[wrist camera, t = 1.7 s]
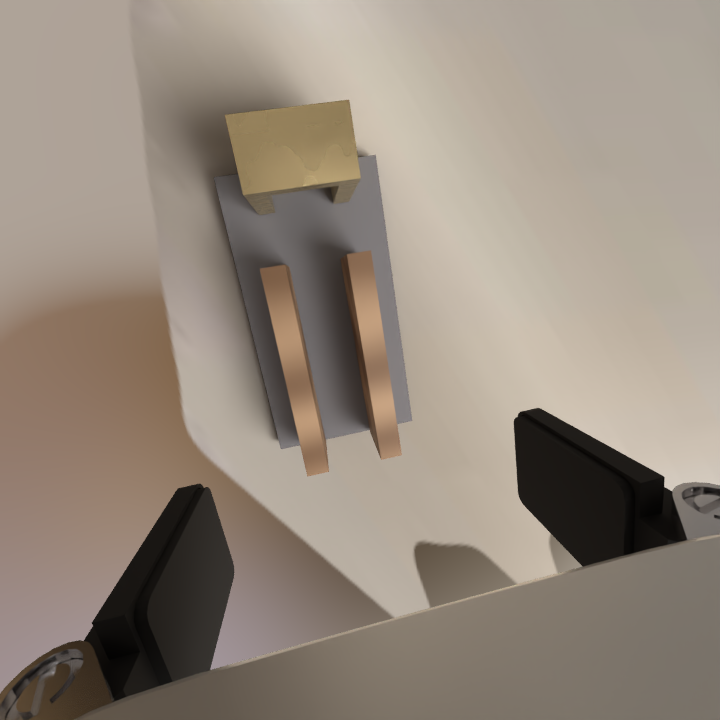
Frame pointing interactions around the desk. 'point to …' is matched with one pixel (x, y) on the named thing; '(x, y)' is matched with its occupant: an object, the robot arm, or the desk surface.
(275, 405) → the tong mat
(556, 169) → the desk surface
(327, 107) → the tan block
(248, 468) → the desk surface
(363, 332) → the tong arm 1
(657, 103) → the desk surface
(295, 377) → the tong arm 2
